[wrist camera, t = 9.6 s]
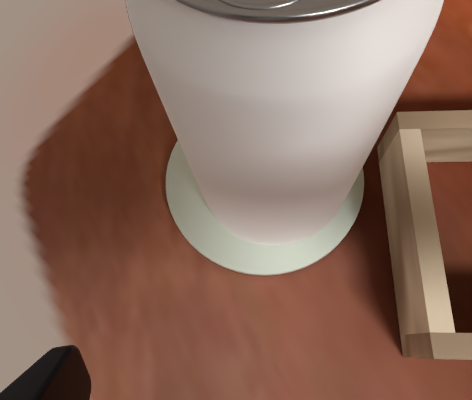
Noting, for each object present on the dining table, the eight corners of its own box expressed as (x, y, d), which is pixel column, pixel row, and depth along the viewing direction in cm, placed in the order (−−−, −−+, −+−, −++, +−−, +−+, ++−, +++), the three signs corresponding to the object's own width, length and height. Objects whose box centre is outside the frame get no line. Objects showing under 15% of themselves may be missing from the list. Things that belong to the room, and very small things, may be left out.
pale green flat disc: (371, 276, 16) (374, 274, 16) (160, 275, 17) (157, 273, 16) (352, 96, 20) (354, 89, 19) (175, 101, 20) (173, 94, 20)
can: (183, 228, 17) (23, 4, 6) (224, 105, 19) (163, -234, 8) (330, 265, 16) (478, 78, 5) (357, 131, 18) (503, -217, 7)
